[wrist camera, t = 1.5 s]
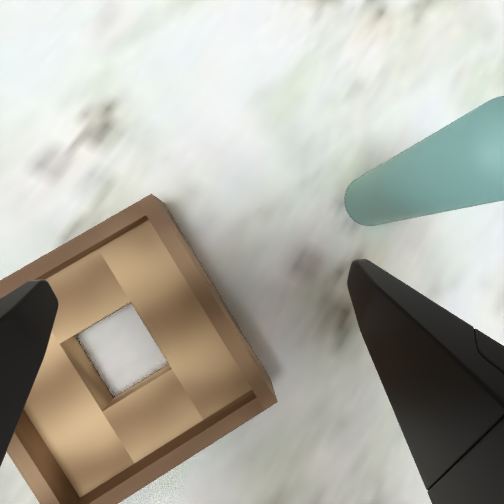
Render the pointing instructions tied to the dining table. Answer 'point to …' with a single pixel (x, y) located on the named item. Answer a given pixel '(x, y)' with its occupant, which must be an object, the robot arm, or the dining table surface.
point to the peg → (436, 172)
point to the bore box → (146, 391)
